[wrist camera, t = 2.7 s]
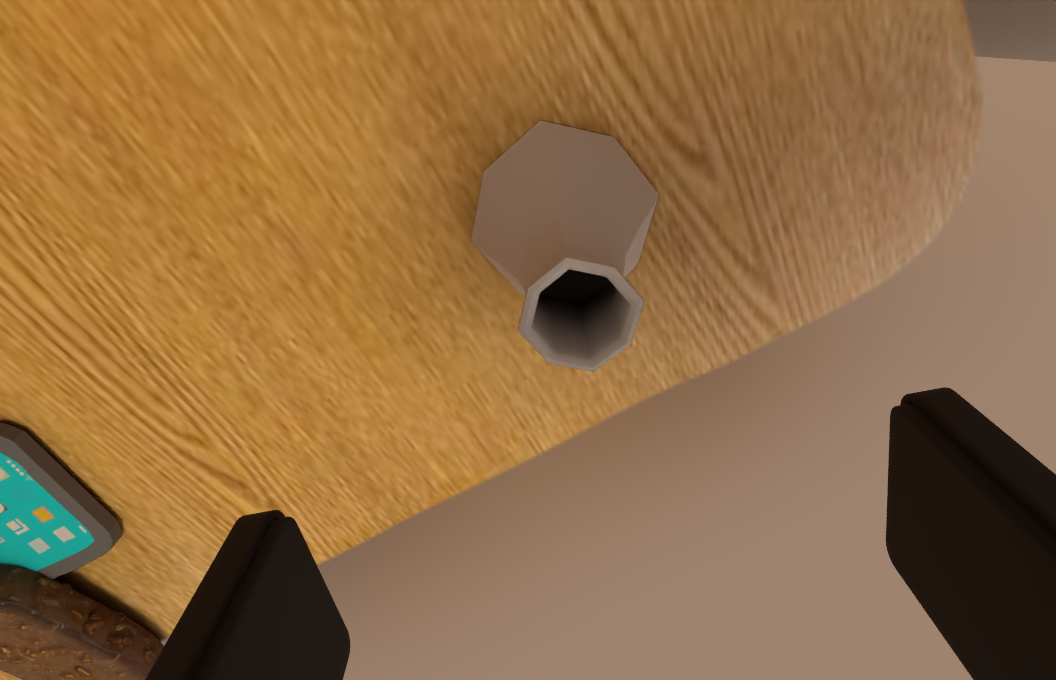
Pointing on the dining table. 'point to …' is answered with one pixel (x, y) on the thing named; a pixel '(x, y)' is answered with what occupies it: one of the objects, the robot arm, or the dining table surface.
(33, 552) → the smartphone
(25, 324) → the dining table surface
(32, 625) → the ice cream bar
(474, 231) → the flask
